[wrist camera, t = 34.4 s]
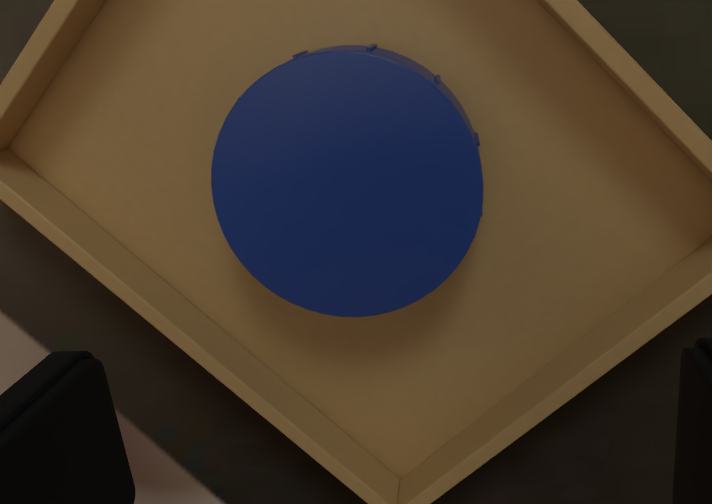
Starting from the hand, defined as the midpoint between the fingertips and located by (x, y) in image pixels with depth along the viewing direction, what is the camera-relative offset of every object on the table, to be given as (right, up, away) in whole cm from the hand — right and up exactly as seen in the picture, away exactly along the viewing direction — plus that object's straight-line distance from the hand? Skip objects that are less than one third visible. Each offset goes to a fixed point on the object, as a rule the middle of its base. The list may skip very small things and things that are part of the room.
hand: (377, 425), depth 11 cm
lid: (-1, +4, +7) cm, 8 cm away
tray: (0, +5, +8) cm, 10 cm away
